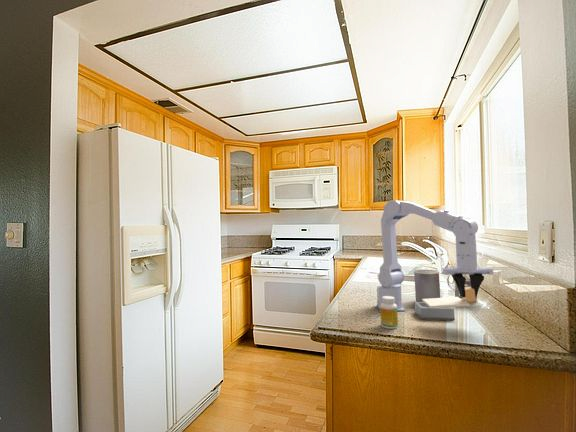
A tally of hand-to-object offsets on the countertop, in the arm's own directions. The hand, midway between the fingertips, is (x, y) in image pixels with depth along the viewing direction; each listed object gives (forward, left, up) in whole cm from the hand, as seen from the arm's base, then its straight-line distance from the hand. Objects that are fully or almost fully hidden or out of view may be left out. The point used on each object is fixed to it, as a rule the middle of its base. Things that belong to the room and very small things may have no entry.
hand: (468, 296), depth 94 cm
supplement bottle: (-26, -1, -10) cm, 28 cm away
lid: (-6, 0, -2) cm, 6 cm away
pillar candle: (-5, +28, -10) cm, 30 cm away
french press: (+10, +30, -10) cm, 33 cm away
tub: (-8, +11, -10) cm, 16 cm away
